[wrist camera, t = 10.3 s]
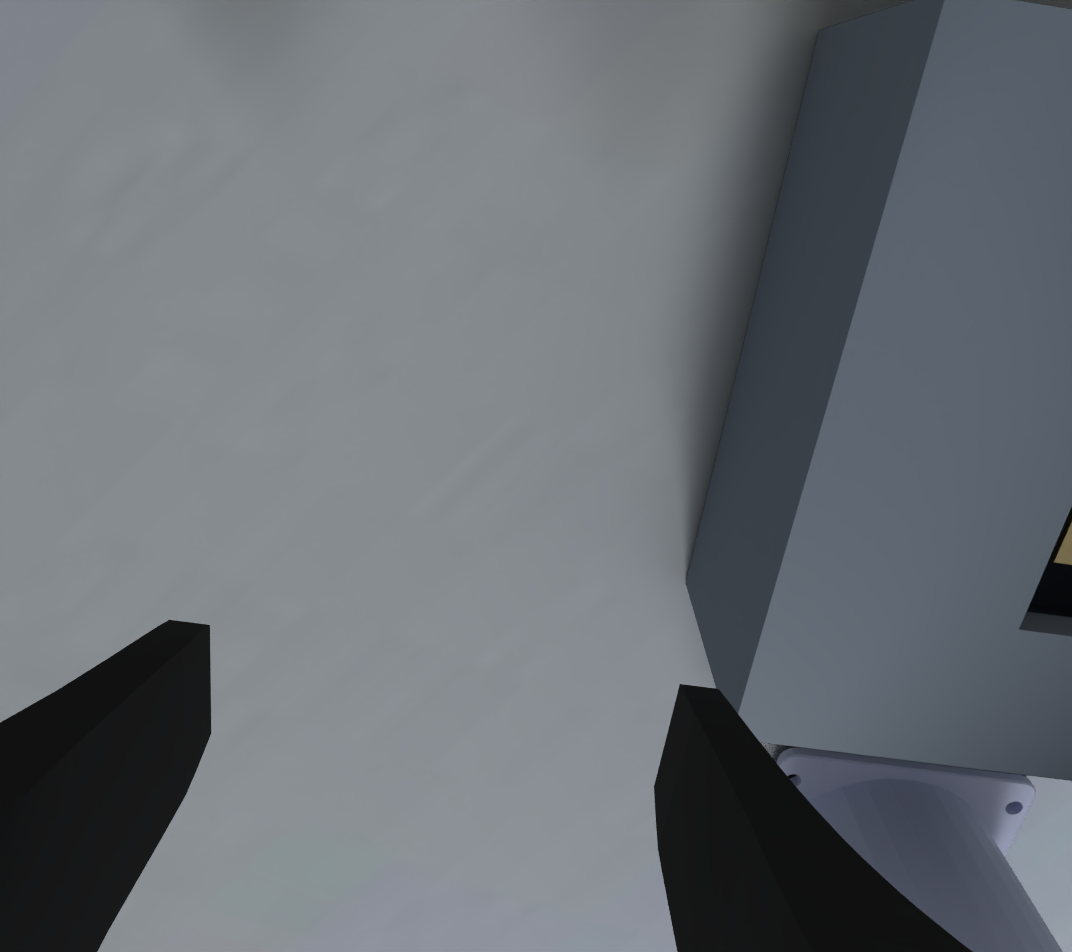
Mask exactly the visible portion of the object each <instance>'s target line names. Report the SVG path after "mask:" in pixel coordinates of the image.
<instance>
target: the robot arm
mask: <svg viewBox="0 0 1072 952" xmlns="http://www.w3.org/2000/svg"><path fill="white" fill-rule="evenodd" d="M210 735H211V685H210V625H205V624H197V623H189V622H181V621H173V620H168V621H167V622H165V623H163V624H162V625H160V626H158V627H157V628H155V629H153V630H152V631H150V632H149V633H147V634H145V635H144V636H142V637H141V638H139V639H138V640H136V641H134V642H133V643H131V644H130V645H128V646H127V647H125V648H124V649H122V650H121V651H119V652H117V653H116V654H114V655H113V656H111V657H110V658H108V659H107V660H105V661H103V662H102V663H100V664H99V665H97V666H95V667H94V668H92V669H91V670H89V671H87V672H86V673H84V674H83V675H81V676H79V677H78V678H76V679H75V680H73V681H71V682H70V683H68V684H67V685H65V686H63V687H62V688H60V689H59V690H57V691H55V692H54V693H52V694H50V695H48V696H46V697H45V698H43V699H41V700H39V701H38V702H36V703H34V704H32V705H31V706H29V707H27V708H25V709H24V710H22V711H20V712H18V713H17V714H15V715H13V716H11V717H9V718H8V719H6V720H4V721H2V722H1V723H0V952H97V951H98V949H99V947H100V945H101V943H102V942H103V940H104V938H105V936H106V934H107V932H108V930H109V928H110V927H111V925H112V923H113V921H114V920H115V918H116V916H117V914H118V913H119V911H120V909H121V908H122V906H123V904H124V902H125V901H126V899H127V897H128V895H129V894H130V892H131V890H132V888H133V887H134V885H135V883H136V881H137V880H138V878H139V876H140V874H141V873H142V871H143V869H144V868H145V866H146V864H147V862H148V861H149V859H150V857H151V855H152V854H153V852H154V850H155V848H156V847H157V845H158V843H159V841H160V840H161V838H162V836H163V834H164V833H165V831H166V829H167V827H168V826H169V824H170V822H171V820H172V819H173V817H174V815H175V813H176V811H177V810H178V808H179V806H180V804H181V802H182V801H183V799H184V797H185V795H186V793H187V791H188V788H189V786H190V784H191V781H192V779H193V777H194V774H195V772H196V770H197V767H198V765H199V762H200V760H201V757H202V755H203V752H204V750H205V747H206V745H207V742H208V740H209V737H210ZM792 774H795V775H796V776H795V777H793V778H788V777H787V776H789V775H792ZM654 793H655V811H656V827H657V840H658V851H659V857H660V862H661V868H662V873H663V878H664V884H665V889H666V894H667V900H668V905H669V910H670V915H671V920H672V926H673V931H674V936H675V941H676V946H677V951H678V952H1062V950H1061V948H1060V947H1059V945H1058V943H1057V942H1056V940H1055V939H1054V937H1053V935H1052V934H1051V932H1050V930H1049V929H1048V927H1047V925H1046V924H1045V922H1044V921H1043V919H1042V917H1041V916H1040V914H1039V912H1038V911H1037V909H1036V908H1035V906H1034V904H1033V903H1032V901H1031V899H1030V898H1029V896H1028V895H1027V893H1026V891H1025V890H1024V888H1023V886H1022V885H1021V883H1020V881H1019V880H1018V878H1017V877H1016V875H1015V873H1014V872H1013V870H1012V868H1011V867H1010V865H1009V864H1008V862H1007V860H1006V859H1005V857H1006V855H1007V853H1008V851H1009V849H1010V847H1011V845H1012V843H1013V841H1014V839H1015V837H1016V835H1017V833H1018V830H1019V828H1020V826H1021V824H1022V822H1023V820H1024V818H1025V816H1026V814H1027V812H1028V810H1029V808H1030V806H1031V803H1032V801H1033V799H1034V797H1035V794H1036V790H1035V787H1034V786H1033V784H1032V783H1031V782H1030V780H1029V779H1028V778H1027V777H1025V776H1022V775H1016V774H1008V773H1000V772H992V771H984V770H976V769H968V768H960V767H952V766H943V765H935V764H927V763H919V762H911V761H903V760H895V759H887V758H879V757H871V756H862V755H854V754H846V753H838V752H830V751H822V750H814V749H806V748H789V749H787V750H785V751H783V752H782V753H781V754H780V756H779V757H778V759H777V762H775V761H774V759H773V758H772V757H771V756H770V754H769V753H768V752H767V751H766V749H765V748H764V747H763V746H762V744H761V743H760V742H759V740H758V739H757V738H756V737H755V735H754V734H753V733H752V731H751V730H750V729H749V727H748V726H747V725H746V724H745V722H744V721H743V720H742V718H741V717H740V716H739V714H738V713H737V712H736V710H735V709H734V708H733V706H732V705H731V704H730V703H729V701H728V700H727V699H726V697H725V696H724V695H723V694H722V692H721V691H720V690H719V689H714V688H706V687H698V686H690V685H682V684H680V686H679V690H678V694H677V698H676V702H675V706H674V710H673V714H672V718H671V722H670V726H669V730H668V734H667V738H666V742H665V746H664V750H663V754H662V758H661V762H660V766H659V770H658V774H657V777H656V781H655V785H654ZM1011 802H1014V803H1012V804H1010V805H1008V804H1009V803H1011Z"/></svg>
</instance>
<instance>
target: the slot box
mask: <svg viewBox="0 0 1072 952" xmlns="http://www.w3.org/2000/svg"><path fill="white" fill-rule="evenodd" d="M1071 507H1072V9H1067V8H1060V7H1054V6H1048V5H1042V4H1036V3H1030V2H1023V1H1017V0H912V1H909V2H906V3H903V4H900V5H897V6H893V7H890V8H887V9H884V10H881V11H878V12H875V13H871V14H868V15H865V16H862V17H859V18H856V19H853V20H849V21H846V22H843V23H840V24H837V25H834V26H831V27H827V28H824V29H821V30H819V32H818V36H817V41H816V45H815V49H814V53H813V57H812V61H811V65H810V70H809V74H808V78H807V82H806V86H805V90H804V94H803V99H802V103H801V107H800V111H799V115H798V119H797V123H796V128H795V132H794V136H793V140H792V144H791V148H790V153H789V157H788V161H787V165H786V169H785V173H784V177H783V182H782V186H781V190H780V194H779V198H778V202H777V206H776V211H775V215H774V219H773V223H772V227H771V231H770V235H769V240H768V244H767V248H766V252H765V256H764V260H763V264H762V269H761V273H760V277H759V281H758V285H757V289H756V294H755V298H754V302H753V306H752V310H751V314H750V318H749V323H748V327H747V331H746V335H745V339H744V343H743V347H742V352H741V356H740V360H739V364H738V368H737V372H736V376H735V381H734V385H733V389H732V393H731V397H730V401H729V406H728V410H727V414H726V418H725V422H724V426H723V430H722V435H721V439H720V443H719V447H718V451H717V455H716V459H715V464H714V468H713V472H712V476H711V480H710V484H709V488H708V493H707V497H706V501H705V505H704V509H703V513H702V518H701V522H700V526H699V530H698V534H697V538H696V542H695V547H694V551H693V555H692V559H691V563H690V567H689V571H688V576H687V580H686V586H687V589H688V593H689V596H690V600H691V603H692V606H693V610H694V613H695V617H696V620H697V624H698V627H699V630H700V634H701V637H702V641H703V644H704V648H705V651H706V655H707V658H708V661H709V665H710V668H711V672H712V675H713V679H714V682H715V685H716V689H719V690H720V691H721V692H722V694H723V695H724V696H725V697H726V699H727V700H728V701H729V703H730V704H731V705H732V706H733V708H734V709H735V710H736V712H737V713H738V714H739V716H740V717H741V718H742V720H743V721H744V722H745V724H746V725H747V726H748V727H749V729H750V730H751V731H752V733H753V734H754V735H755V737H756V738H757V739H758V740H759V742H762V743H770V744H778V745H787V746H795V747H803V748H811V749H819V750H827V751H835V752H843V753H851V754H859V755H868V756H876V757H884V758H892V759H900V760H908V761H916V762H924V763H932V764H940V765H948V766H957V767H965V768H973V769H981V770H989V771H997V772H1005V773H1013V774H1021V775H1029V776H1038V777H1046V778H1054V779H1062V780H1070V781H1072V565H1069V564H1062V563H1055V562H1053V561H1052V560H1051V559H1050V556H1051V553H1052V551H1053V549H1054V546H1055V544H1056V542H1057V539H1058V537H1059V535H1060V532H1061V530H1062V528H1063V525H1064V523H1065V521H1066V518H1067V516H1068V514H1069V511H1070V509H1071Z"/></svg>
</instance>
